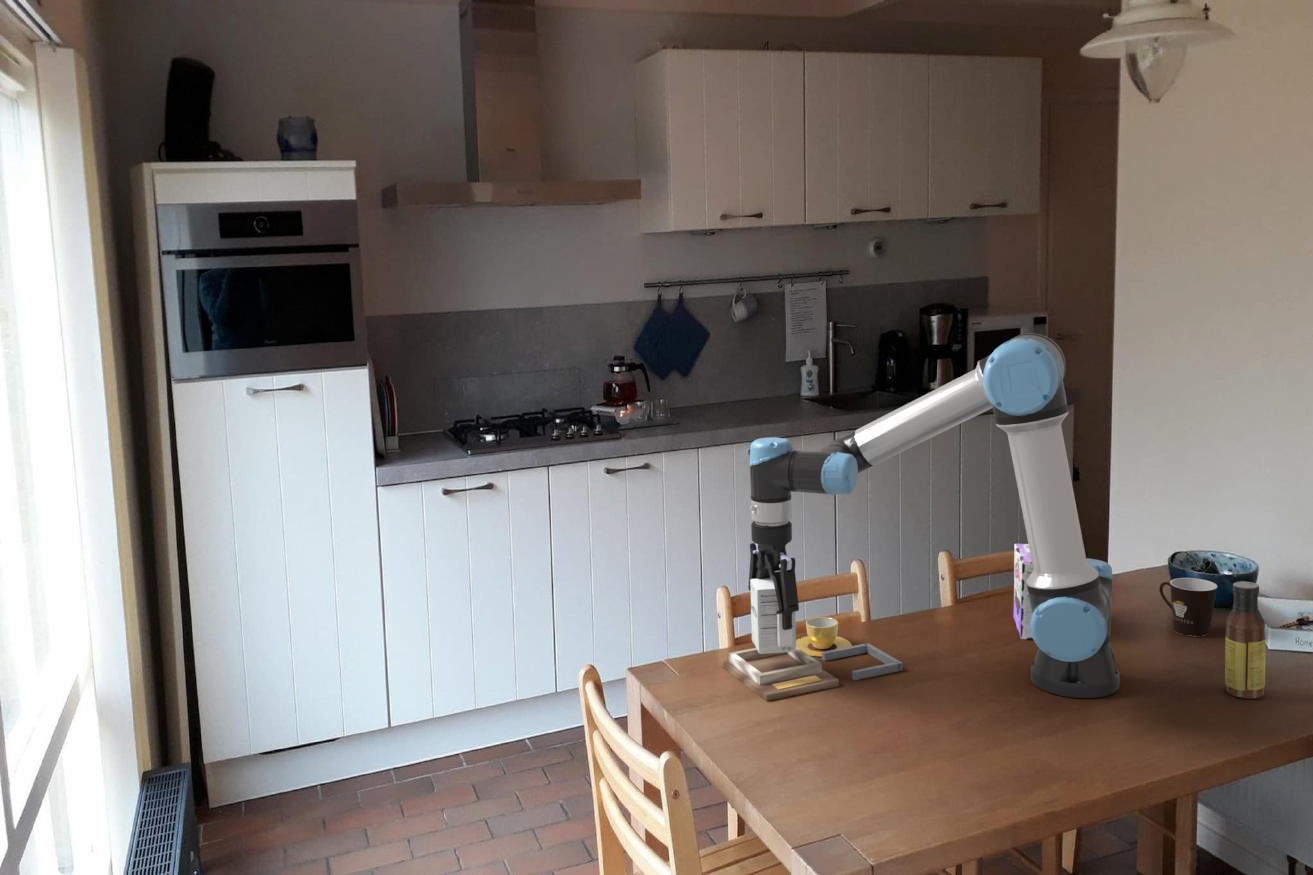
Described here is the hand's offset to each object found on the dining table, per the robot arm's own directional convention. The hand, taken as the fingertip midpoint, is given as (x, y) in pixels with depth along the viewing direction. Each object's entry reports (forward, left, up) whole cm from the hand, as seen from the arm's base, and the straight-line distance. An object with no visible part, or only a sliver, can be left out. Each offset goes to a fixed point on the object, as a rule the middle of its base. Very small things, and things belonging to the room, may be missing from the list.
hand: (773, 637), depth 214 cm
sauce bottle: (-46, -68, -7) cm, 83 cm away
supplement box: (0, 0, -2) cm, 2 cm away
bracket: (-4, -16, -7) cm, 18 cm away
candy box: (-3, -58, -7) cm, 59 cm away
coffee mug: (-18, -85, -7) cm, 87 cm away
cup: (+8, -15, -8) cm, 19 cm away
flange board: (-2, 0, -7) cm, 8 cm away
